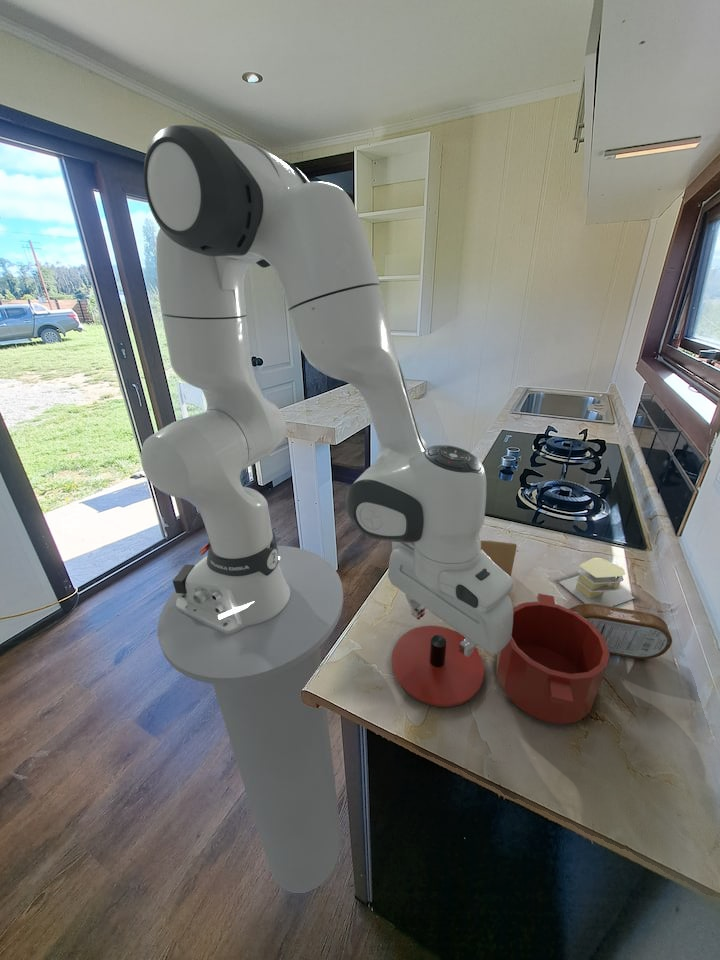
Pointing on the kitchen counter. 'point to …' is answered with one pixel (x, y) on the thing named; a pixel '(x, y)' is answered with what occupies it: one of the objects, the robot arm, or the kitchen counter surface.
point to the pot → (552, 662)
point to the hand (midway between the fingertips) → (440, 632)
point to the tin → (628, 630)
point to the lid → (436, 666)
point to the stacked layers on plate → (598, 583)
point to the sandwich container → (500, 554)
